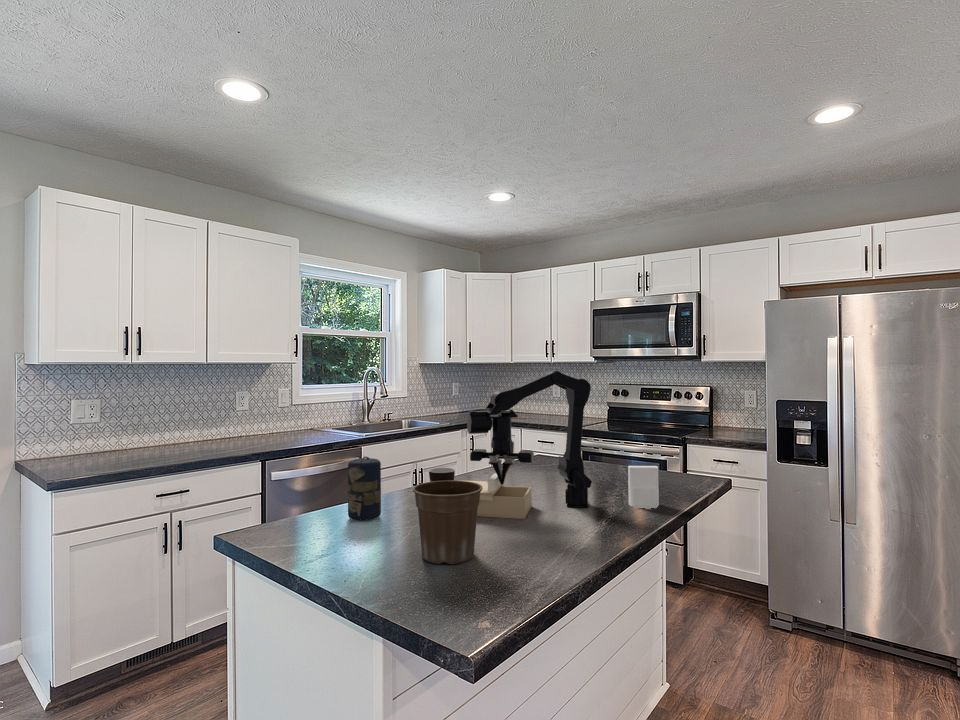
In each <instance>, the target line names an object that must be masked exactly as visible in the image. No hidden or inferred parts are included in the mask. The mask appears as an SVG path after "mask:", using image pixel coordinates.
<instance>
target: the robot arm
mask: <svg viewBox="0 0 960 720" xmlns="http://www.w3.org/2000/svg"><path fill="white" fill-rule="evenodd" d="M554 385H555V386H557V387H558V388H560V389H562V390H565V395H566V397H565V398H566V400H567V404H568V416H567V417H568V418H567V432H566V443H565V444H566V445H565V452H564V454H563V455H562V456H561V455H559V456H558V466H557V470H559V471H558V473H559V475H560V477H561V478H563V479H564V482H565V483H566V484H567V485H566V489H565V492H564V493H565V504H566V508H584V509H585V508H586V509H587V508H589V503H590V501H589V489H590V488H591V487H592V482H593V481H592V480H591V479H590V478H589V477H588V476H587V475H586V474H585V467H584V466H585V465H584V461H583V457H582V454H581V453H582V452H581V451H582V439H583V424H584V411H585V406H586V405H587V403H588V401H589V397H590V394H591V390H592V388H591V384H590V382H589V381H588V380H586V379H584V378H577V377H572V376H570V375H567V374H565V373H562V372H560V371H558V370H550V371H548V372H547V373H546V374H543V375H540V376H539V377H536V378H534V379H532V380H529V381H527V382H525V383H523V384H520V385H518V386H515V387H510V388H504V389H501V390H497V391H494V392H493V393H492V394H491V396H490V398H489V401H490V402H488V404H487V405H486V407H485V409H484V410H483V411H482V410H480V411H479V410H478V411H475V410H469V412H468V417H467V421H466V429H467V433H468V435H474V434H479V435H481V434H488V433H489V432H490V431H492V434H491V435H492V437H491V448H492V451H491V452H490V451H489V452H488V451H487V449H485V448H483V449H482V448H475V449H474V450H472V451H471V452H470V454H469V458H470V459H469V462H480V461H482V460H483V459H488V460H489V461H488V465H491V466H492V468H493V469H494V472H495V473H496V474H497V476H498V479H499V481H500V484H501V485H503V486H504V484H505V481H506V478H507V474H508V471H509V469H510V467H511V466H513V464H515V462H516V460H517V461H519V462H520V463H528V464H531V463H533V461H534V460H535V454H534V452H533V450H525V449H523V450H520V451H518V452H514V451H515V450H514V449H515V447H514V446H515V442H514V441H513V439H512V418H514V419H516V418H518V416H519V415H518V414H517V413H516V412H515V411H514V410H513V409H512V408H513V407H514V406H517V405H518V404H519V402H521V401H522V400H523V399H525V398H528V397H530V396H532V395H535V394H537V393H539V392H541V391H543V390H545V389H548V388H549V387H552V386H554ZM502 460H504V461H503V462H502Z"/></svg>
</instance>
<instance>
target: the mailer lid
mask: <svg viewBox="0 0 960 720" xmlns="http://www.w3.org/2000/svg"><path fill="white" fill-rule="evenodd" d="M456 480H457V481H468V482H474V483H478V484H480V485H481V486H482V487H483V488H482V491H481V492H480V500H488V501H493V495H494V494H495V493H496V492H497V490H498V489H499V488H500V487H501V486H504V484H503V485H501V484H500V481H499V479H498V476H497V474H496V472H494V473H493V474H492V475H491V476H490V477H489V478H488V479H487V480H485V481H484V480H464V479H462V480H460V479H456Z"/></svg>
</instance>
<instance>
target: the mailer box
mask: <svg viewBox="0 0 960 720" xmlns="http://www.w3.org/2000/svg"><path fill="white" fill-rule="evenodd" d="M532 496H533V495H532V487H531V486H517V485H516V486H513V485H512V486H511V485H510V486H509V485H503V486H501V487H500V488H499V489H498V490H497V492H496V493H495V494H494V495H493V501H488V500H480V501H479V505H478V509H477V517H480V518H481V517H483V518H484V517H485V518H486V517H487V518H500V519H501V518H503V519H516V520H517V519H518V520H522V519H523V520H526V518H527V516H528V514H529V513H530V510H531V509H530V508H532V507H531V506H533V505H532V502H533V501H532V499H533V497H532Z"/></svg>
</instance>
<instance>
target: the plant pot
mask: <svg viewBox="0 0 960 720" xmlns="http://www.w3.org/2000/svg"><path fill="white" fill-rule="evenodd" d="M457 480H458V479H454V480H446V481H432V482H430V481H427V482H422V483H419V484H416V485H414V486H413V487H412V492H413V493H414V496H415V497H414V498H415V505H416V508H417V514H418V525H419V526H418V527H419V536H420V547H421V557H422V559H423V560H424V561H427V562H428V563H432V564H435V565H436V564H437V565H441V564H442V563H445V564H448V565H457V564H462V563H465V562H468V561H470V560H471V559H473V557H474V555H475V543H476V532H477V530H476V529H477V522H478V521H477V519H478V516H477V509H478V505H479V501H480V492H481V491H482V488H483V487H482V486H481V485H480V484H478V483H474V482H468V481H469V480H468V481H457Z"/></svg>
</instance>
